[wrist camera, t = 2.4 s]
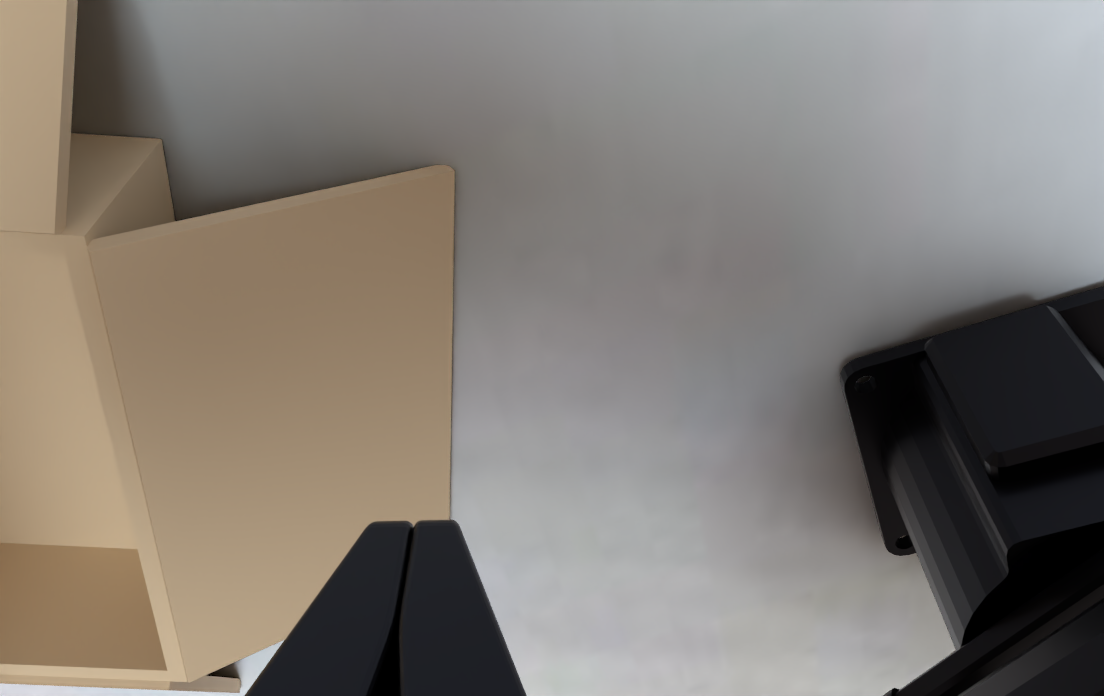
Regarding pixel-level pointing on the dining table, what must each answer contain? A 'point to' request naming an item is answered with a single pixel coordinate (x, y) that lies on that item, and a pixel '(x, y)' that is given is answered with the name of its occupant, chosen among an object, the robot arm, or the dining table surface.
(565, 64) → the dining table surface
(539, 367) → the dining table surface
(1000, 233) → the dining table surface
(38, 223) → the carton
